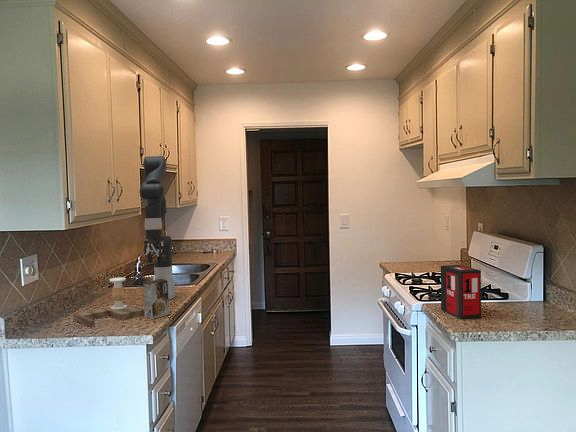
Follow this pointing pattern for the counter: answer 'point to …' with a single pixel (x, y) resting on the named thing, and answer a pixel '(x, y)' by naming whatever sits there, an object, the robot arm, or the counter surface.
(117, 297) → the bobbin
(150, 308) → the coffee box
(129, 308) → the notched board
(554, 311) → the counter surface
